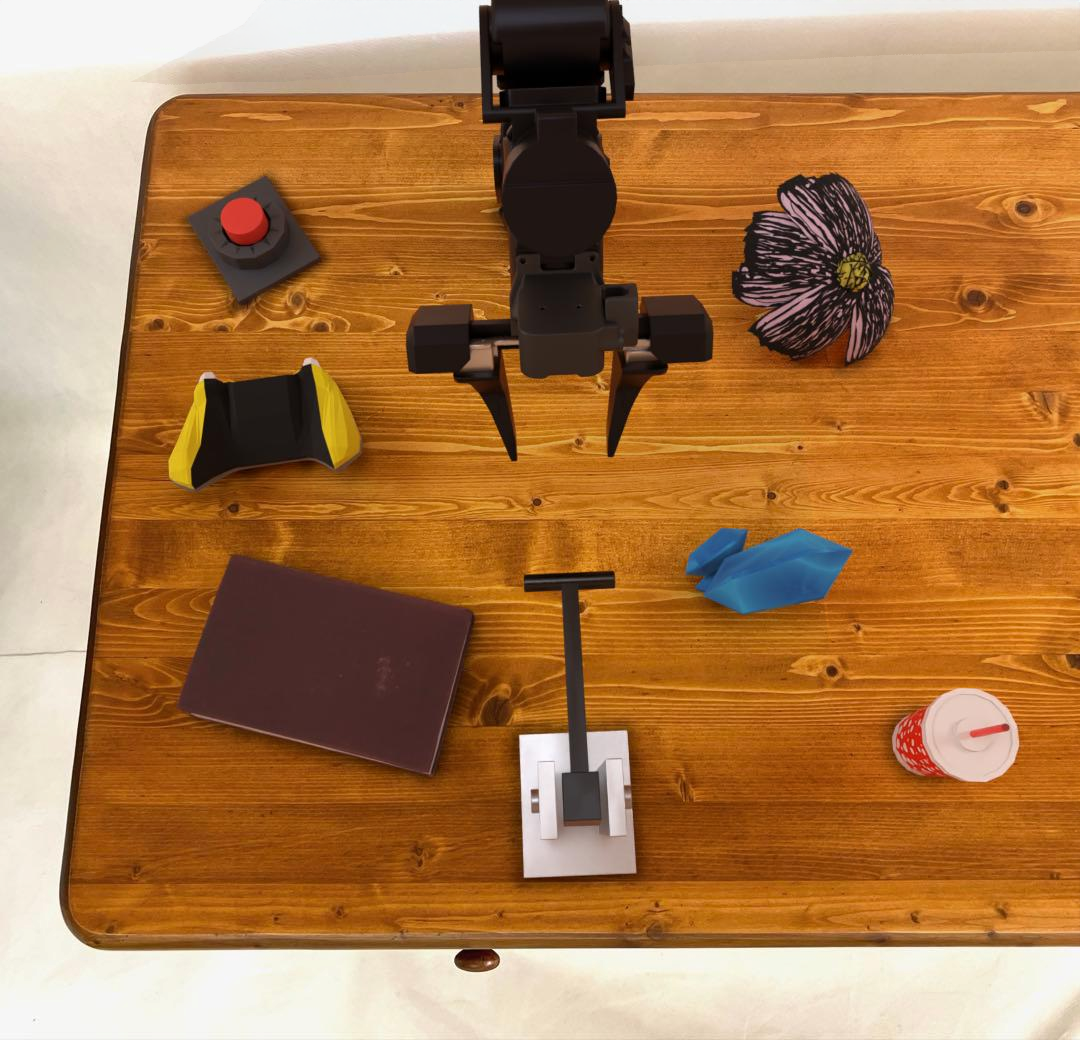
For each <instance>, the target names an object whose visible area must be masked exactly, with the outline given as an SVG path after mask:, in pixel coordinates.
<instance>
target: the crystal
mask: <svg viewBox="0 0 1080 1040" xmlns="http://www.w3.org/2000/svg"><path fill="white" fill-rule="evenodd" d="M748 533H749V529H745V528H732V527H731V528H730V527H720V528H719V529H718V530H717V531H716V532H715V533H714V534H712V535H711V536H710V537H709V538H707V539H706V540H705V541H704V542H703V543H702V544H700V545H699V546H698V547H697V548H695V549H694V550H693V551H692V552H691V553H690V554H689V556H688V560H687V565H686V569H685V573H684V575H690V576H699V577H702V579H701V580H700V581H699V582H698V583H697V585H696V586H695V587H694V589H695V590H697V591H699V592H701V593H703V595H702V596H703V597H704V598H706V599H708V600H711V601H713V602H715V603H717V604H720V605H721V606H724V607H725V608H728V609H730V610H732V611H734V612H736V613H738V614H740V615H742V616H746V615H750V614H755V613H760V612H764V611H771V610H775V609H779V608H784V607H789V606H794V605H799V604H804V603H809V602H814V601H819V600H824V599H825V598H826V596H827V595H828V594H829V591H830V590H831V588H832V587H833V585H834V584H835V581H836V580H837V579H838V577H839V575H840V573H841V572H842V570H843V569H844V567H845V565H846V563H847V562H848V560H849V558H850V557H851V556H852V554H853V552H854V550H853V549H852V548H849V547H847V546H844V545H842V544H839V543H837V542H835V541H833V540H830V539H827V538H824V537H822V536H821V535H817V534H816V533H813V532H810V531H808V530H806V529H803V528H801V527H798V528H795V529H793V530H791V531H788V532H786V533H783V534H781V535H778V536H776V537H774V538H771V539H768V540H766V541H764V542H761V543H759V544H757V545H754V546H751V547H749V548H747V549H744V547H745V544H746V540H747V537H748Z"/></svg>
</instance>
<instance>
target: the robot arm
mask: <svg viewBox="0 0 1080 1040" xmlns="http://www.w3.org/2000/svg"><path fill="white" fill-rule="evenodd" d="M478 25H479V26H478V29H479V32H478V33H479V60H480V90H481V92H480V93H481V117H482V118H481V119H482V125H492V124H500V129H499V130H500V134H494V136H493V139H492V140H493V141H492V167H493V168H492V170H493V182H494V184H493V185H494V192H495V198H496V204H498V205H499V204H500V205H501V206H500V207H499V208H498V216H499V218H500V219H501V220H502V221H503V228H504V229H505V231H506V232H507V237H508V238H507V239H508V257H509V277H510V279H509V280H510V291H509V297H508V299H509V300H508V302H509V318H491V319H489V318H488V319H475V314H474V307H473V303H459V304H435V305H419V307H418V308H417V309H416V311H414V313H413V314H412V315H411V318H410V321H409V324H408V327H407V330H406V332H405V350H406V359H407V361H406V362H407V370H408V372H410V373H412V374H416V375H425V374H430V375H431V374H451V373H452V377H453V381H454V382H455V383H457V384H460V385H462V384H464V385H465V384H466V385H467V384H468V385H470V386H471V387H472V388H473V389H474V390H475V391H476V392H477V393H478V395H479V396H480V398H481V399H482V401H483V403H484V405H485V406H486V407H487V409H488V411H489V413H490V415H491V417H492V420H493V422H494V424H495V427H496V429H497V431H498V433H499V436H500V438H501V440H502V443H503V445H504V447H505V450H506V452H507V455H508V457H509V459H510V461H511V462H518V441H517V440H518V439H517V429H516V423H515V416H514V412H513V405H512V401H511V400H512V399H511V394H510V388H509V383H508V377H507V371H506V367H505V366H506V365H505V359H504V354H503V351H504V350H506V351H507V350H518V351H519V368H520V372H521V373H522V375H524V376H525V377H526V378H528V379H529V378H530V379H533V380H545V379H547V378H548V377H551V376H552V377H553V376H578V377H580V378H591V377H594V376H597V375H599V374H601V373H602V372H603V370H604V368H605V355H606V353H605V352H612V361H611V371H610V372H611V373H610V382H609V392H608V401H607V402H608V404H607V411H606V412H607V413H606V423H605V445H606V449H605V450H606V456H607V458H614V457H615V455H616V451H617V449H618V446H619V444H620V441H621V438H622V435H623V433H624V430H625V427H626V424H627V422H628V419H629V416H630V413H631V410H632V408H633V406H634V404H635V402H636V400H637V398H638V396H639V395H640V392H641V391H642V389H643V387H644V386H645V385H646V384H647V383H648V382H649V380H650V379H651V378H652V377H656V376H664V375H666V374H667V373H668V369H669V364H689V363H690V364H691V363H707V362H708V361H710V360H711V361H712V360H713V357H714V355H713V354H714V336H715V335H714V324H713V320H712V318H711V316H710V315H709V313H708V311H707V310H706V308H705V307H704V305H703V303H702V301H700V299H698V298H697V297H696V296H695V294H672V295H651V296H649V295H648V296H640V297H641V298H640V302H639V291H638V284H637V283H636V282H627V283H607V284H606V283H605V279H604V236H605V235H606V233H607V232H608V230H609V229H610V227H611V225H612V223H613V220H614V218H615V216H616V212H617V211H616V210H617V205H618V203H617V202H618V188H617V187H618V186H617V184H616V180H615V177H614V175H613V171H612V169H611V159H610V157H608V155H607V154H606V153H605V150H604V147H603V134H602V133H601V132H600V130H599V128H598V120H613V119H617V120H618V119H626V117H627V104H626V103H627V102H632V101H633V102H634V99H635V88H636V79H635V68H634V58H633V46H632V34H631V33H632V32H631V24H630V22H629V21H628V20H627V19H626V18H625V16H624V12H623V4H620V0H490V5H489V4H482V5H481V4H480V5H479V6H478ZM607 71H608V77H609V87H610V89H609V90H610V99H607V86H603V84H604V83H605V81H606V80H605V78H606V77H605V76H606V75H605V74H606V72H607ZM494 76H495V77H496V79H495V80H496V87H497V88H498V90H499V92H498V99H499V100H498V101H499V103H495V104H494V81H493V80H494V78H493V77H494Z"/></svg>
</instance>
